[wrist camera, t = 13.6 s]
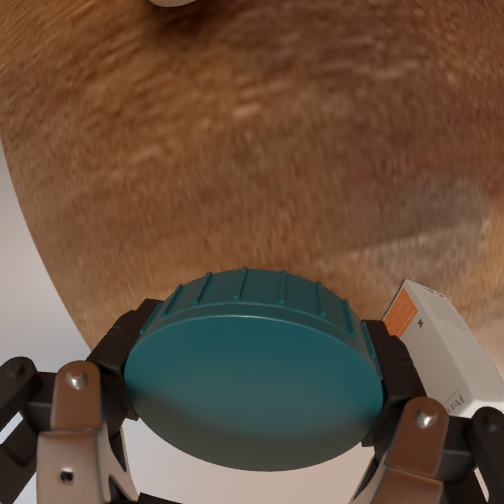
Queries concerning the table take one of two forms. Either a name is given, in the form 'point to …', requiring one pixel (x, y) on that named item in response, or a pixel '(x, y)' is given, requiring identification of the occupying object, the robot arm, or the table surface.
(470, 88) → the table surface
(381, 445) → the robot arm
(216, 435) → the jam lid
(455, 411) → the cosmetic box
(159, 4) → the white jar
